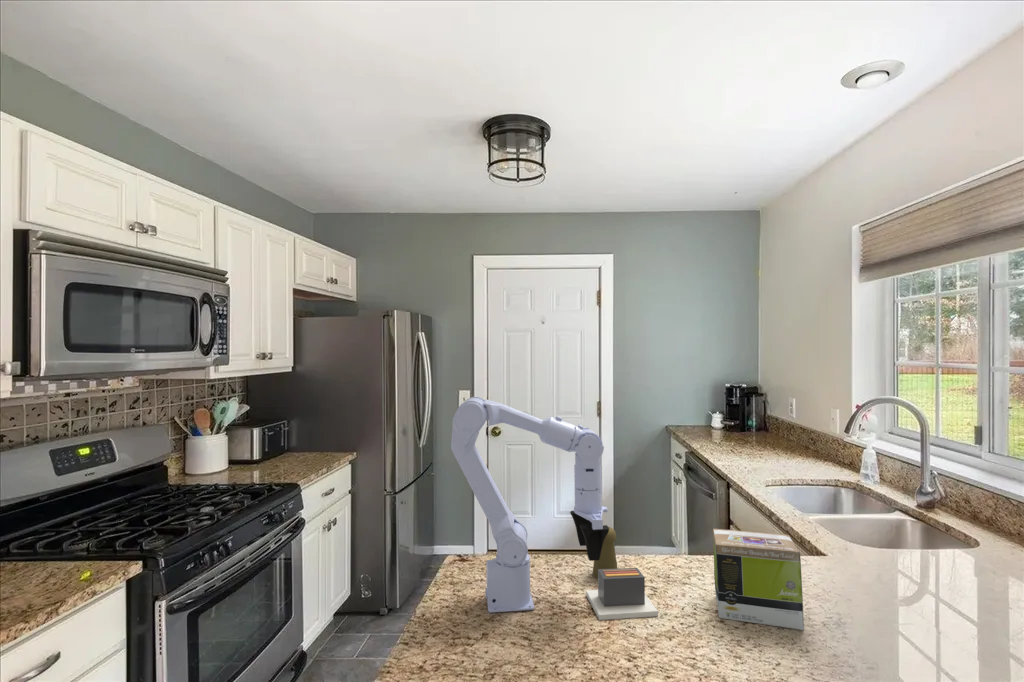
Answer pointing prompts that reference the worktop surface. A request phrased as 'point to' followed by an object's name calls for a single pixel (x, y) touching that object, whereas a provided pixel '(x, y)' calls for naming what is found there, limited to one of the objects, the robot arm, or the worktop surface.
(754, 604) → the tea box
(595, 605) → the header board
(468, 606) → the worktop surface
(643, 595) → the block
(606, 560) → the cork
